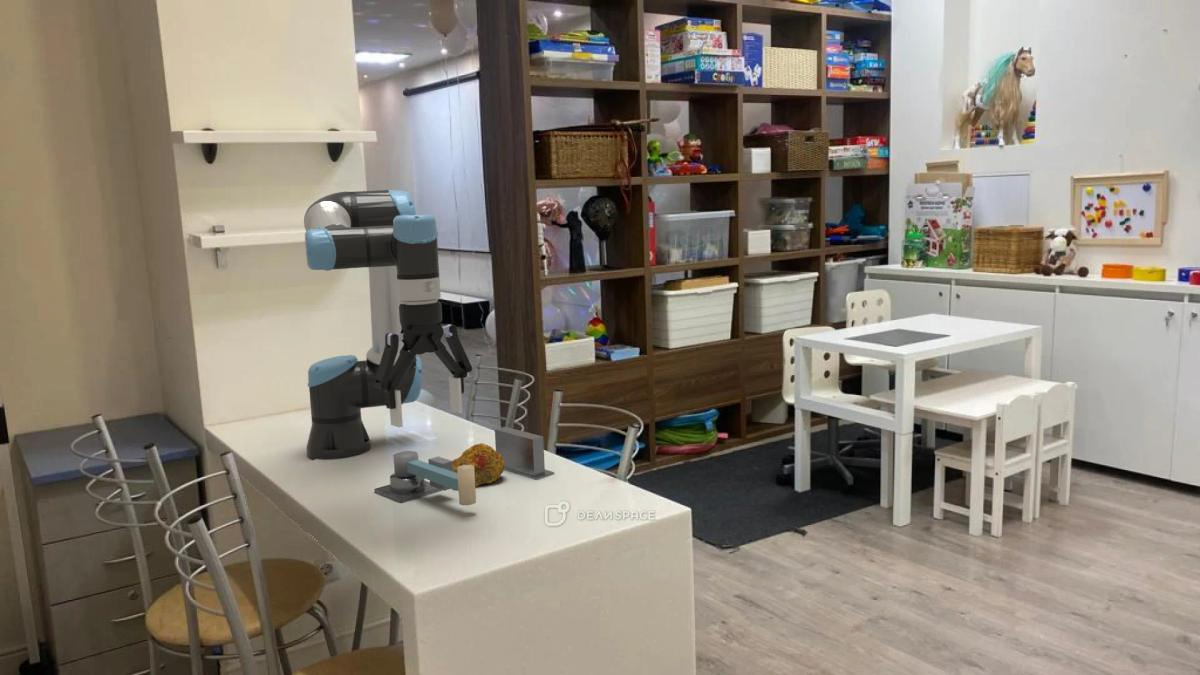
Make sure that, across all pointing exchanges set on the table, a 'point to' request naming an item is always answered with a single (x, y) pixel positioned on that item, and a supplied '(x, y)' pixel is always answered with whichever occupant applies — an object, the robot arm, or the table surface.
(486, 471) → the golden brown lumpy piece
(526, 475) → the frame
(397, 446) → the table surface
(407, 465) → the lever
